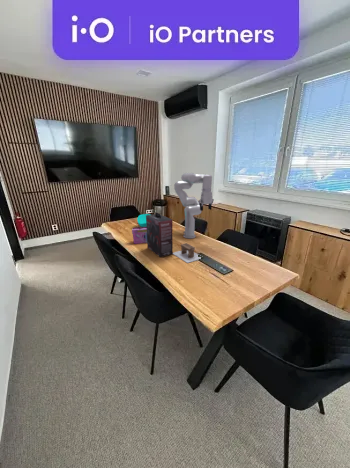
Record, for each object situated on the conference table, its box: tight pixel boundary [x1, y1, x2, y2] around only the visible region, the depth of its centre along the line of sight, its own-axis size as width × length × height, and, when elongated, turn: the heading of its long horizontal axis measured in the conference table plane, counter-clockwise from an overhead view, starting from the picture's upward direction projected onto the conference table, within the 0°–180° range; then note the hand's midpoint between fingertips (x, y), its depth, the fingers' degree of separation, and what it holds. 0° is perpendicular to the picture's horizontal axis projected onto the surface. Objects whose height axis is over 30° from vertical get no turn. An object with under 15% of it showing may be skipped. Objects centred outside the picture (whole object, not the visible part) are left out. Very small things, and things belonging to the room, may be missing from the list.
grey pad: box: [172, 250, 202, 264], centre depth 164 cm, size 21×16×1 cm
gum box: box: [131, 226, 147, 245], centre depth 192 cm, size 24×8×14 cm, turn 106°
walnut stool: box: [180, 243, 196, 258], centre depth 162 cm, size 6×11×8 cm, turn 34°
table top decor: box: [136, 213, 152, 227], centre depth 230 cm, size 40×28×13 cm
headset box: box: [146, 211, 174, 258], centre depth 168 cm, size 25×12×33 cm, turn 32°
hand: (205, 209), depth 178 cm, fingers open, 9 cm apart
